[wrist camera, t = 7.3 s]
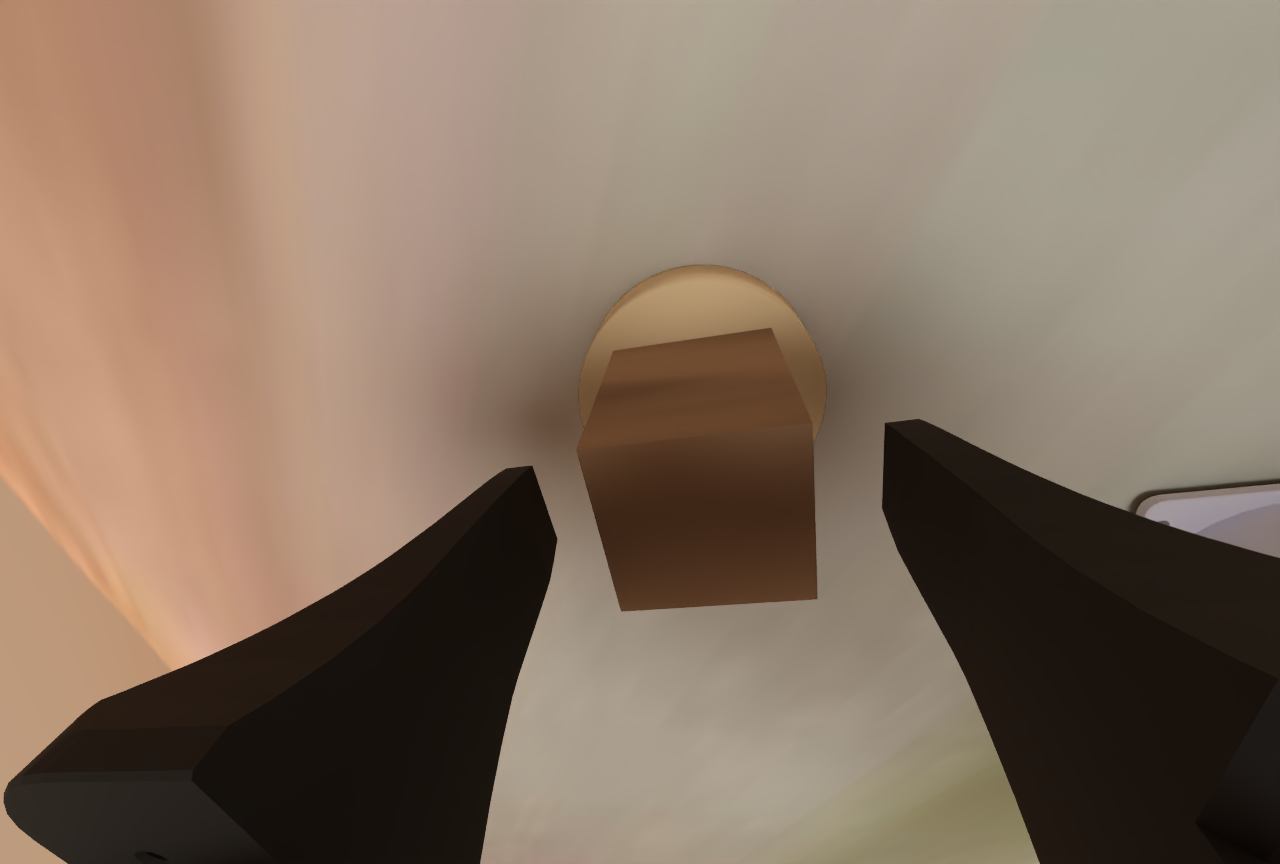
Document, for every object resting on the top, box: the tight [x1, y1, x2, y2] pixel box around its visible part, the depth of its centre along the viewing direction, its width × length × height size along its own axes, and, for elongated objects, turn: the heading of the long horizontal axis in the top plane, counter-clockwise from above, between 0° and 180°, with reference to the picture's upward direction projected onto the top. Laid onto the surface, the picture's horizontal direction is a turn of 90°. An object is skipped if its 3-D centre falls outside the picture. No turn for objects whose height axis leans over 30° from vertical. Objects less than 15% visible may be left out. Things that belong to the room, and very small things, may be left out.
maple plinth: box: [578, 265, 827, 441], centre depth 15 cm, size 7×7×2 cm
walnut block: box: [577, 328, 817, 611], centre depth 12 cm, size 4×4×5 cm
